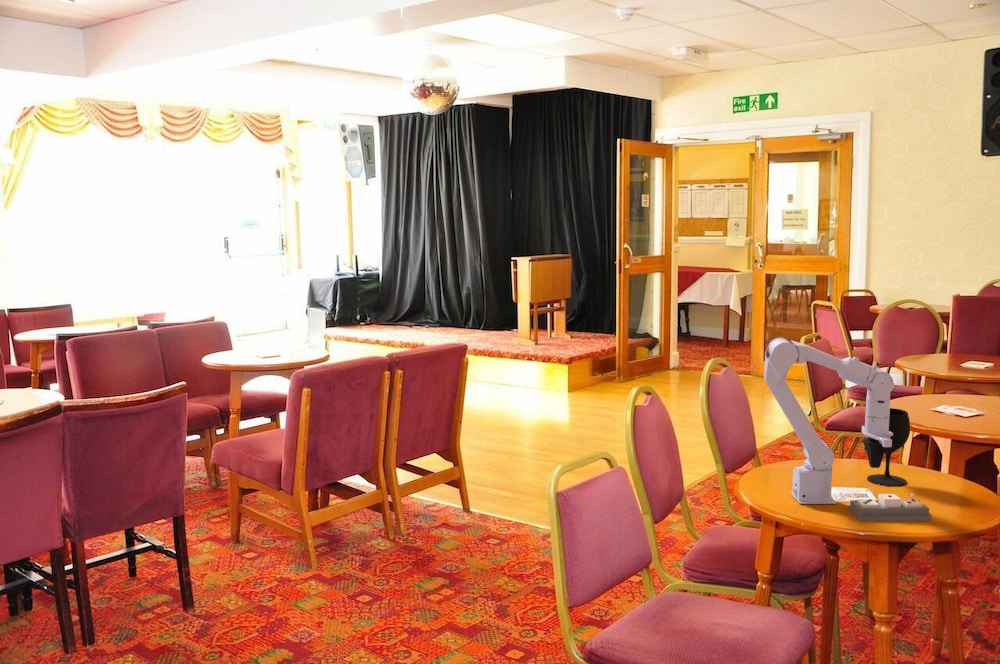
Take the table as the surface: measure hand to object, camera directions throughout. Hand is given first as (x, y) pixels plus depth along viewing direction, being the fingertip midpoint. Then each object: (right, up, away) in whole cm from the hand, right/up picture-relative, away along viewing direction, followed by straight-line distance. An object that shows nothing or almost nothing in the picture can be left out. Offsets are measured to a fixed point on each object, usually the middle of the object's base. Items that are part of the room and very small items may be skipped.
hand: (874, 467), depth 233 cm
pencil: (+11, -10, -2) cm, 15 cm away
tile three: (-5, -10, -9) cm, 14 cm away
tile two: (+5, -10, -9) cm, 14 cm away
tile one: (0, -8, -9) cm, 12 cm away
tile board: (0, -11, -9) cm, 14 cm away
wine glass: (+11, -7, +19) cm, 23 cm away
